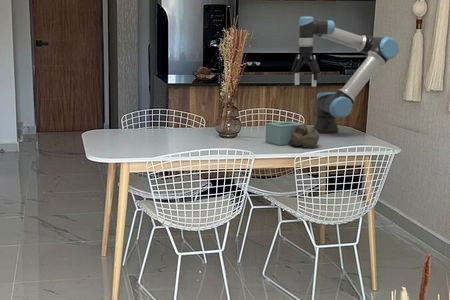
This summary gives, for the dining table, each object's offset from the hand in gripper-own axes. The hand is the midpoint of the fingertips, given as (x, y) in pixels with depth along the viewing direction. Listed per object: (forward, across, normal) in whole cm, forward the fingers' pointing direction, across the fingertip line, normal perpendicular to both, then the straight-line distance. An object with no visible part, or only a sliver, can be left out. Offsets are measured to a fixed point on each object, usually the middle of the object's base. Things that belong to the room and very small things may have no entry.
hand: (305, 85), depth 323 cm
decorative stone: (+28, +22, -20) cm, 41 cm away
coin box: (+28, +9, -22) cm, 37 cm away
